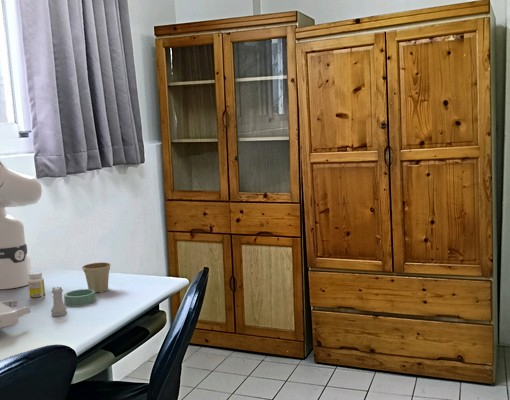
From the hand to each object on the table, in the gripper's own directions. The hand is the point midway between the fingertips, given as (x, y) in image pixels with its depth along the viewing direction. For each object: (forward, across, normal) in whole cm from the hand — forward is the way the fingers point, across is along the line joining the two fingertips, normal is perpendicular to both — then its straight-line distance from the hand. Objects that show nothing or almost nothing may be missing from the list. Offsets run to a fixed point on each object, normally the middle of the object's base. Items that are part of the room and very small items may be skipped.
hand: (22, 306), depth 165 cm
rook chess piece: (+10, 0, +5) cm, 11 cm away
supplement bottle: (+13, +23, +5) cm, 27 cm away
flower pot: (+31, +16, +5) cm, 35 cm away
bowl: (+20, +8, +5) cm, 22 cm away
